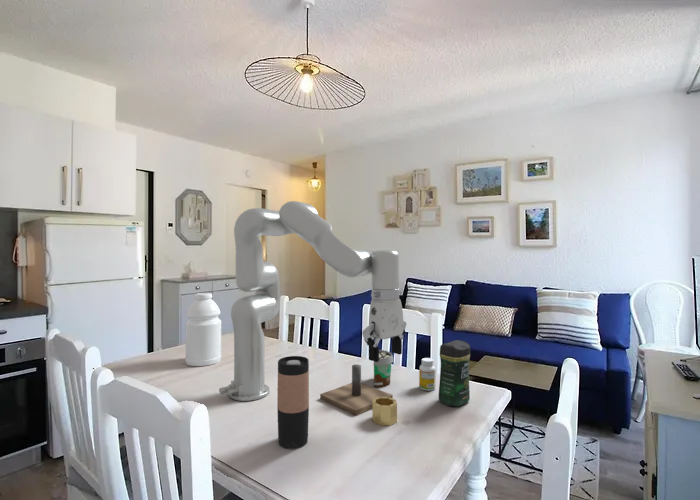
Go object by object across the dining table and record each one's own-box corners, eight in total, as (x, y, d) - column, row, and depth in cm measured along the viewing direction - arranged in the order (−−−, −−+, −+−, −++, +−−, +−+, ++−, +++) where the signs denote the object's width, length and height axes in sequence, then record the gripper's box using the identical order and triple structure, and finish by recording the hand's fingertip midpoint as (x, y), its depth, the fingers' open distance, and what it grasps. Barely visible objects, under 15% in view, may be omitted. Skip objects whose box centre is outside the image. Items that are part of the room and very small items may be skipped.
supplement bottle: (423, 383, 130) (423, 356, 130) (438, 387, 127) (438, 358, 127) (416, 388, 126) (416, 360, 126) (431, 392, 123) (431, 363, 123)
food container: (391, 390, 124) (391, 360, 124) (373, 388, 126) (373, 359, 126) (394, 377, 137) (395, 350, 136) (378, 376, 138) (378, 349, 138)
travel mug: (279, 434, 95) (279, 356, 95) (309, 432, 96) (309, 355, 96) (275, 450, 88) (275, 365, 88) (308, 449, 88) (308, 365, 88)
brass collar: (385, 427, 99) (385, 409, 99) (367, 419, 104) (367, 401, 104) (401, 419, 104) (401, 401, 103) (383, 412, 108) (383, 394, 108)
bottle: (208, 354, 164) (208, 290, 164) (228, 360, 156) (228, 293, 156) (178, 362, 153) (178, 294, 152) (197, 369, 144) (197, 297, 144)
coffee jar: (457, 410, 110) (457, 347, 110) (434, 401, 116) (435, 341, 115) (474, 401, 116) (474, 341, 116) (451, 393, 122) (452, 336, 122)
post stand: (356, 415, 106) (356, 378, 106) (320, 398, 117) (320, 365, 117) (392, 399, 117) (392, 366, 117) (356, 385, 128) (356, 355, 128)
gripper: (374, 299, 94) (374, 367, 95) (415, 293, 106) (415, 353, 107) (353, 296, 100) (353, 360, 100) (394, 291, 112) (394, 348, 112)
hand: (385, 357), depth 103 cm, fingers open, 9 cm apart
